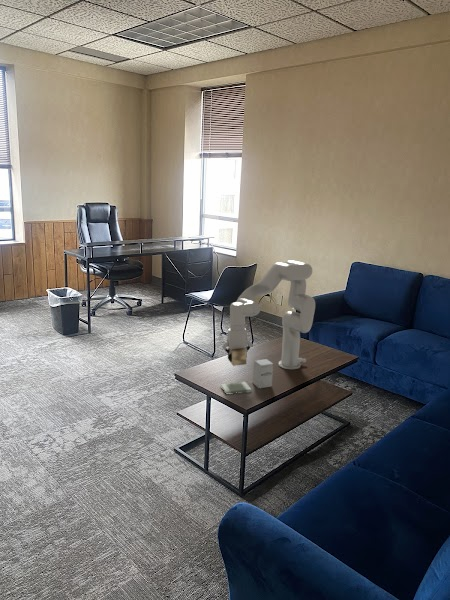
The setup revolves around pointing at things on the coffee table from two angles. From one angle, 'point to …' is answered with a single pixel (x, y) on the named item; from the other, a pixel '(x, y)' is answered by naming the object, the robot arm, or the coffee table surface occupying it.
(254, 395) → the coffee table surface
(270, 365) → the supplement box
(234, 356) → the beech block
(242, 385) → the sage board
